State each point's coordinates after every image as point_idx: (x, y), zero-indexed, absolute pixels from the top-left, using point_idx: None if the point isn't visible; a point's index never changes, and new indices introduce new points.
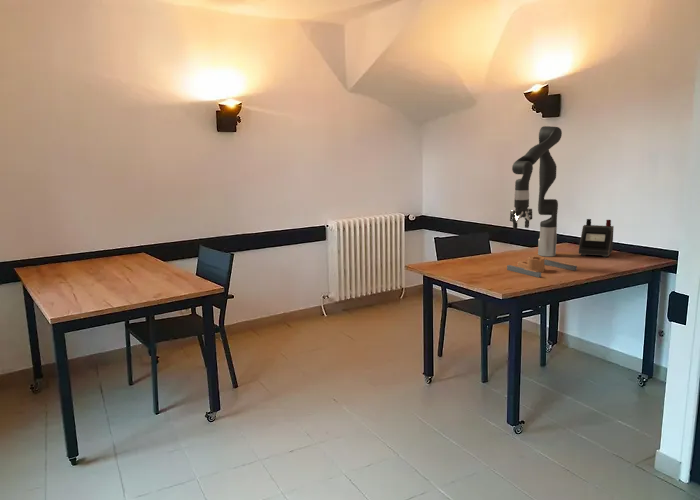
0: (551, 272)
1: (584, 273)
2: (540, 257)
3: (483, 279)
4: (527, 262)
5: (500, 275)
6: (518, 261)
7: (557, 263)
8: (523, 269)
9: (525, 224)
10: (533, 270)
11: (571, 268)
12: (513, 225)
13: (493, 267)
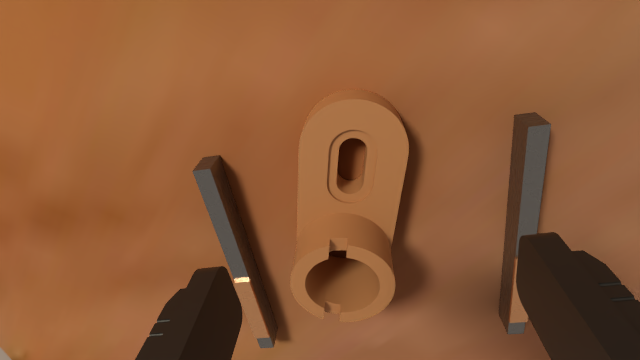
0: None
1: (488, 354)
2: (380, 283)
3: (18, 259)
4: (372, 149)
5: (119, 237)
6: (328, 107)
7: (514, 243)
8: (233, 276)
9: (552, 295)
10: (255, 323)
11: (503, 307)
12: (152, 347)
13: (149, 54)
